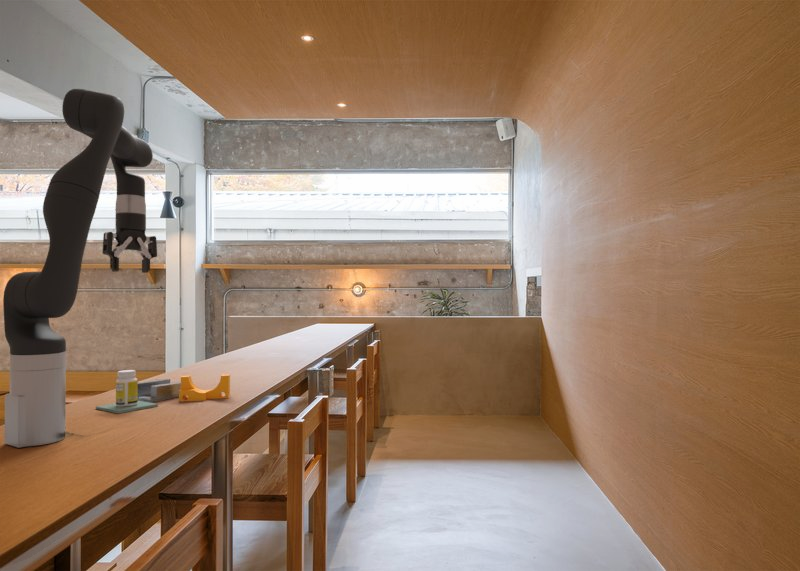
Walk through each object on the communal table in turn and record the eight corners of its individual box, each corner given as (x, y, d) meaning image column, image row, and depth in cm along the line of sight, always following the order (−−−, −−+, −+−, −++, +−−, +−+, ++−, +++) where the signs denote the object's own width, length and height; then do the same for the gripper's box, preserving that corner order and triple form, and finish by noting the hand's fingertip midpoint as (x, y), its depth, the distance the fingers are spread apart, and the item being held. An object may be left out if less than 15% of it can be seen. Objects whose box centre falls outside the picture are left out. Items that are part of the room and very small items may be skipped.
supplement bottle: (138, 402, 139) (138, 369, 139) (136, 406, 134) (136, 371, 135) (116, 404, 137) (117, 370, 137) (114, 407, 133) (114, 372, 133)
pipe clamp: (179, 403, 142) (179, 378, 142) (183, 400, 146) (183, 375, 147) (227, 401, 144) (227, 376, 144) (230, 398, 148) (230, 374, 148)
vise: (149, 403, 141) (149, 387, 141) (111, 397, 151) (111, 382, 151) (196, 395, 153) (196, 380, 153) (158, 389, 162) (158, 376, 163)
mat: (118, 413, 129) (118, 410, 129) (95, 409, 134) (95, 406, 134) (157, 406, 137) (157, 403, 137) (134, 402, 143) (134, 400, 143)
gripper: (112, 208, 144) (112, 270, 144) (162, 215, 156) (162, 272, 156) (97, 211, 148) (97, 271, 148) (147, 217, 160) (147, 273, 160)
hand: (130, 272), depth 152 cm, fingers open, 8 cm apart
